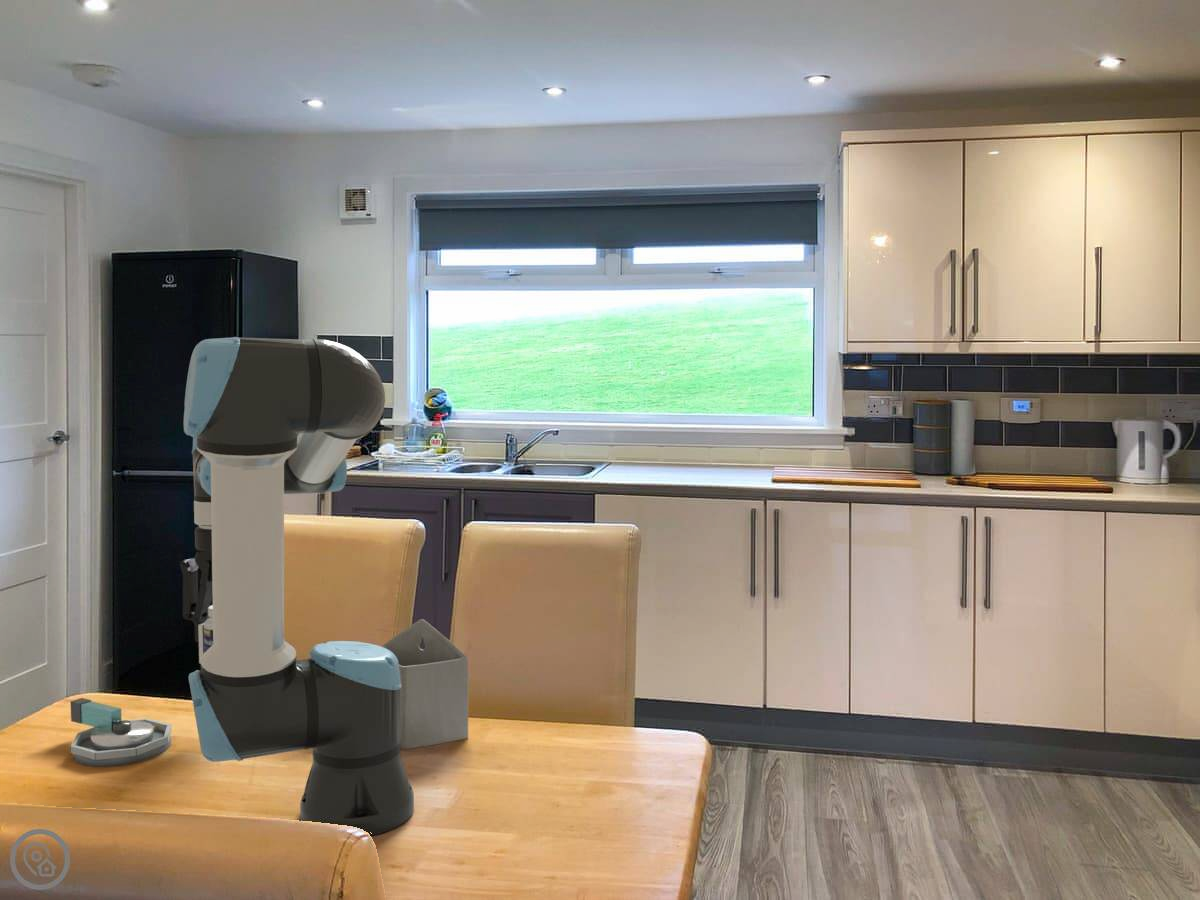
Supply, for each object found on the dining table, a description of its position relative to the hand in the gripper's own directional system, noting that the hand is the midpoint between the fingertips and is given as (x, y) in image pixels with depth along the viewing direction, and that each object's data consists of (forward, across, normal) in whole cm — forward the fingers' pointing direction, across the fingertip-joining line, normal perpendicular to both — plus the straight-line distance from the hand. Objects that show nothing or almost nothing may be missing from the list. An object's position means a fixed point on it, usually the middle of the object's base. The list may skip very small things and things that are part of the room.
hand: (222, 662), depth 169 cm
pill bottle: (0, 0, 0) cm, 0 cm away
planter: (+12, -33, -2) cm, 35 cm away
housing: (+11, +10, +12) cm, 19 cm away
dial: (+10, +13, +11) cm, 20 cm away
